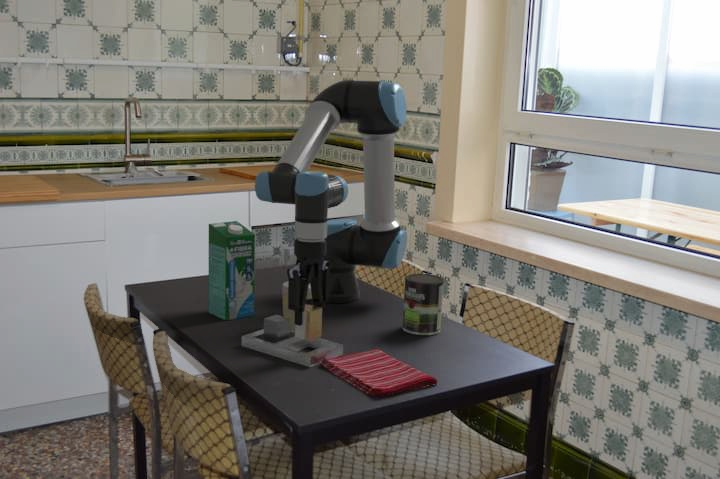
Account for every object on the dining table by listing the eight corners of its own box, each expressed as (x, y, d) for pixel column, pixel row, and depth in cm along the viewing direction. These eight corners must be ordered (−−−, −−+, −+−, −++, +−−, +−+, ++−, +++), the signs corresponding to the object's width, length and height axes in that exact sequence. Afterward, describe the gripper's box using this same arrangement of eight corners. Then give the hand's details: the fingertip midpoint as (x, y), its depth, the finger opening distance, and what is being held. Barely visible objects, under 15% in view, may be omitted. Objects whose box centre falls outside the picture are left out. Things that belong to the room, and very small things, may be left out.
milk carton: (226, 320, 224) (226, 228, 219) (208, 312, 231) (208, 223, 226) (254, 315, 230) (255, 225, 225) (236, 307, 237) (236, 220, 232)
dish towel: (376, 402, 175) (376, 390, 174) (318, 366, 194) (318, 355, 194) (440, 387, 184) (440, 376, 184) (378, 355, 204) (379, 344, 203)
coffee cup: (311, 335, 215) (312, 290, 212) (276, 332, 216) (277, 287, 214) (320, 325, 224) (321, 281, 221) (286, 321, 225) (287, 278, 223)
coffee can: (424, 338, 216) (427, 285, 213) (394, 328, 223) (396, 277, 220) (448, 330, 223) (452, 278, 221) (418, 321, 230) (421, 271, 227)
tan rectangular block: (307, 332, 202) (307, 304, 201) (321, 336, 200) (322, 308, 198) (294, 336, 199) (295, 308, 197) (309, 340, 196) (309, 312, 195)
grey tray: (275, 334, 214) (275, 325, 214) (342, 354, 201) (343, 344, 201) (241, 345, 205) (241, 336, 204) (310, 367, 192) (310, 357, 191)
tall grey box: (275, 341, 209) (276, 314, 208) (289, 345, 206) (290, 318, 205) (263, 345, 206) (263, 318, 204) (277, 350, 203) (277, 322, 202)
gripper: (322, 231, 204) (319, 324, 208) (272, 241, 190) (270, 340, 194) (346, 236, 199) (343, 330, 204) (297, 246, 185) (295, 347, 190)
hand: (307, 335), depth 199 cm, fingers closed on tan rectangular block, 4 cm apart
